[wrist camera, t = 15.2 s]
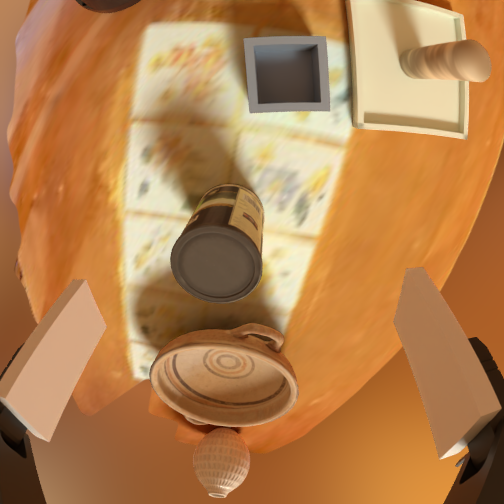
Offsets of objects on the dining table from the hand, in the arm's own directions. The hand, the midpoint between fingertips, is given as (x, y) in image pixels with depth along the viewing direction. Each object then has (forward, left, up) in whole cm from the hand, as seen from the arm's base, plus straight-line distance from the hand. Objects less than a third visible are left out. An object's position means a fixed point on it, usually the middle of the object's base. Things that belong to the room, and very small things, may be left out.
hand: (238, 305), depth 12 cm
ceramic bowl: (+41, -9, -33) cm, 54 cm away
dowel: (-13, +22, -31) cm, 40 cm away
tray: (-13, +22, -33) cm, 41 cm away
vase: (+79, -15, -33) cm, 87 cm away
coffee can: (+10, -5, -33) cm, 35 cm away
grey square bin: (-10, +4, -33) cm, 34 cm away
